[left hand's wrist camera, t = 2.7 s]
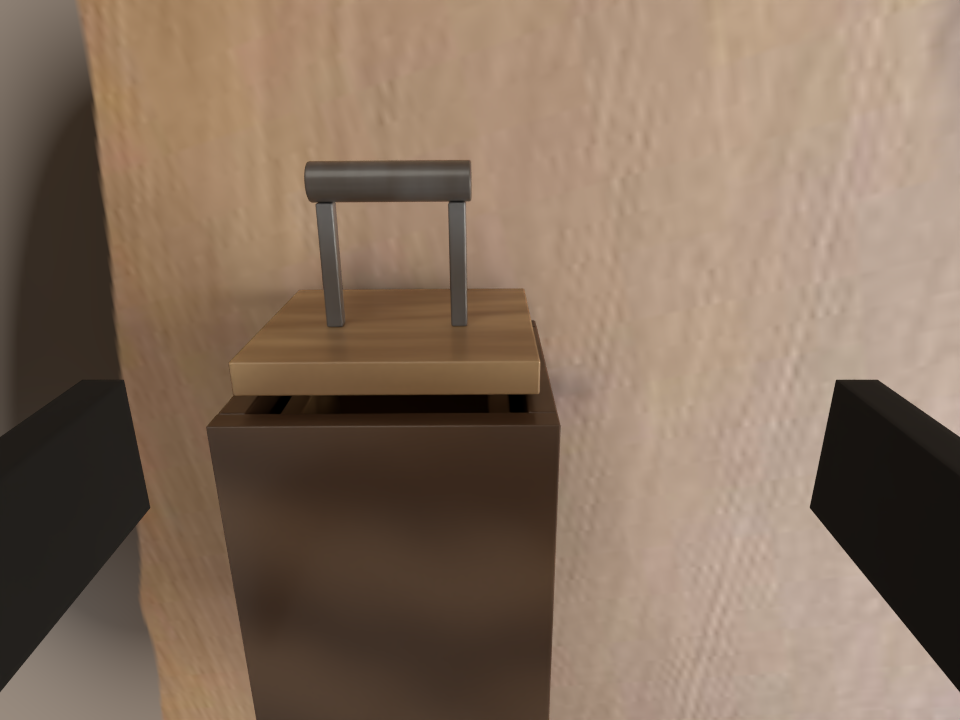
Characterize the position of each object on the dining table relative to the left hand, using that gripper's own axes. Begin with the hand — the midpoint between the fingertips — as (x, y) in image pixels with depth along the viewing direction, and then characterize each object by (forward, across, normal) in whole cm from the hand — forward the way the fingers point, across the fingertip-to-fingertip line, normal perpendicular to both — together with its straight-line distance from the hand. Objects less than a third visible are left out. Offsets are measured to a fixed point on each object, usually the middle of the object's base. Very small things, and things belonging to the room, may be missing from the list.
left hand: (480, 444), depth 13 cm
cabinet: (+19, -3, -12) cm, 22 cm away
